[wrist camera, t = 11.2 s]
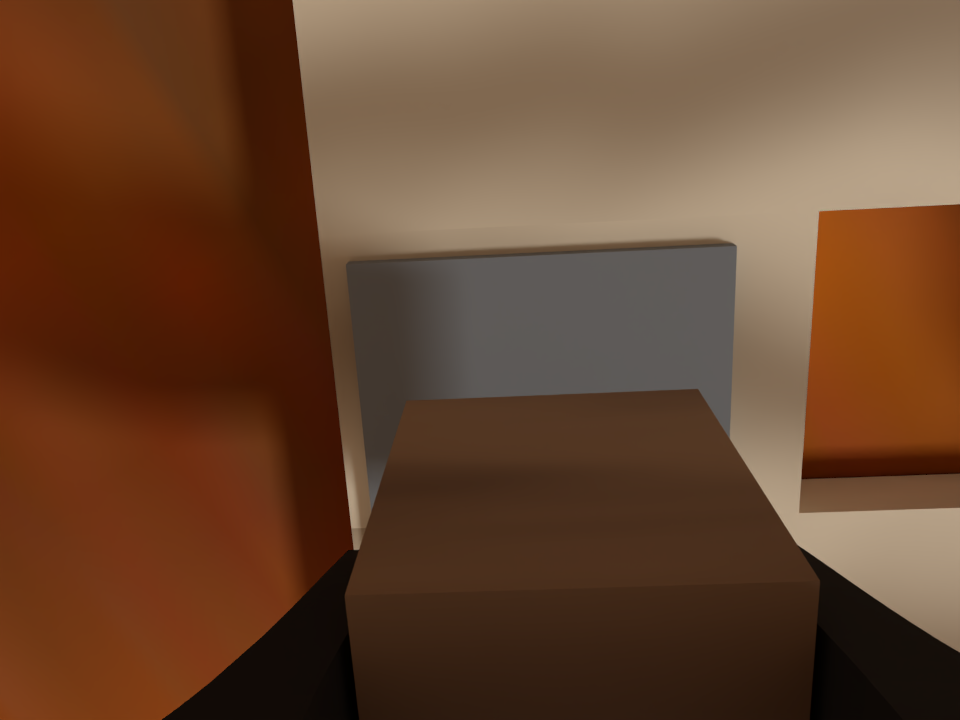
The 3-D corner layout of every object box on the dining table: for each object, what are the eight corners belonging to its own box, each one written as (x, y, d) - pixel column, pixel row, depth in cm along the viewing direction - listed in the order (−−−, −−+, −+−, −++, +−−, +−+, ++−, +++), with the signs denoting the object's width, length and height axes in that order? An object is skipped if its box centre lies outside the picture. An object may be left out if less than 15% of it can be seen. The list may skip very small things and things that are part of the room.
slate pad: (720, 581, 18) (724, 589, 17) (381, 591, 18) (379, 600, 18) (732, 243, 15) (736, 246, 15) (348, 261, 16) (345, 264, 15)
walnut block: (691, 638, 14) (792, 939, 9) (427, 646, 14) (385, 944, 9) (697, 388, 12) (819, 580, 7) (406, 400, 12) (343, 595, 8)
